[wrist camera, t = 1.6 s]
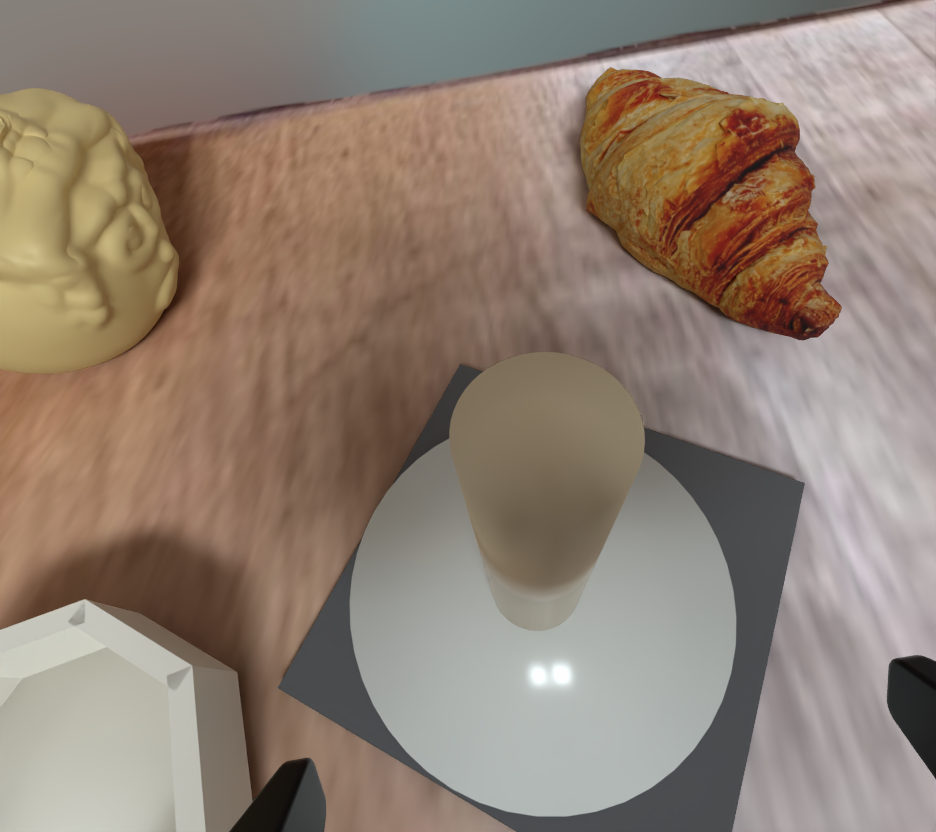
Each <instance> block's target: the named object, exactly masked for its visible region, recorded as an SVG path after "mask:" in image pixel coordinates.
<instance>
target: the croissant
mask: <svg viewBox="0 0 936 832" xmlns="http://www.w3.org/2000/svg"><path fill="white" fill-rule="evenodd" d="M799 139H800V129H799V125H798V120H797V119H796V118H795V116H794V115H793V114H792V113H791V112H790V111H789V110H788V108H787V107H786V106H785V105H784V104H783V103H774V102H770V101H767V100H765V99H764V98H759V99H757V98H753V97H749V96H743V95H733V94H729V93H728V92H724V91H720V90H718V89H716V88H713V87H711V86H709V85H706V84H702V83H699V82H695V81H692V80H688V79H682V78H661V77H659V76H657V75H656V74H654V73H651V72H649V71H642V70H625V69H622V70H619V71H618V70H616V69H614V68H611V67H610V68H609V69H607V70H606V71H605V72H604V73H603V74H602V75H601V76H600V77H599V78H598V79H597V80H596V82H595V83H594V85H593V86H592V87H591V89H590V90H589V92H588V94H587V96H586V115H585V120H584V125H583V128H582V132H581V136H580V149H581V155H580V157H581V163H582V168H583V172H584V174H585V177H586V180H587V185H588V189H589V193H588V196H587V202H586V207H587V211H588V212H590V213H591V214H593V215H595V216H597V217H598V218H599V219H600V220H601V221H603V222H604V223H606V224H607V225H609V226H610V227H611V228H613V229H614V230H615V231H616V233H617V235H618V238H619V240H620V242H621V244H622V246H623V247H624V248H625V249H626V250H627V251H628V252H629V253H630V254H631V255H632V256H633V257H634V258H636V259H637V260H638V261H639V262H640V263H641V264H643V265H644V266H646V267H648V268H649V269H651V270H652V271H654V272H655V273H658V274H661V275H663V276H665V277H667V278H669V279H671V280H672V281H674V282H675V283H676V284H678V285H679V286H680V287H682V288H684V289H686V290H689V291H691V292H693V293H695V294H696V295H698V296H699V297H700V298H702V299H703V300H705V301H706V302H708V303H709V304H711V305H713V306H715V307H718V308H720V310H721V311H722V312H723V313H724V314H725V315H726V316H728V317H730V318H731V319H733V320H735V321H737V322H739V323H742V324H744V325H747V326H750V327H753V328H757V329H761V330H764V331H768V332H772V333H776V334H780V335H784V336H789V337H792V338H795V339H798V340H806V339H809V338H813V337H819V336H820V335H821V334H822V333H823V332H824V331H825V330H827V329H828V328H829V326H830V325H831V324H833V323H834V321H835V319H836V318H838V317H839V313H840V311H841V308H842V307H841V305H840V304H839V303H838V302H837V301H836V300H835V299H834V298H833V297H832V296H830V295H829V294H828V293H827V291H826V290H825V289H824V288H823V286H822V285H821V284H820V282H821V281H822V279H823V276H824V273H825V270H826V267H827V265H828V264H829V263H828V260H827V258H826V256H825V253H826V249H827V246H822V242H821V241H820V239H819V237H818V234H817V231H816V228H817V225H818V224H817V222H816V221H815V220H814V219H813V218H812V216H811V215H810V213H809V211H808V209H809V207H810V203H811V191H812V190H813V189H814V188H815V187H816V186H815V183H814V181H815V180H814V177H815V176H813V175H812V174H811V173H810V171H809V169H808V168H807V167H806V166H805V164H804V163H803V161H802V160H801V159H800V158H798V156H797V155H796V153H795V149H796V146H797V144H798V142H799Z"/></svg>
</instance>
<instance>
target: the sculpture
mask: <svg viewBox="0 0 936 832" xmlns="http://www.w3.org/2000/svg"><path fill="white" fill-rule="evenodd" d="M178 268H179V255H178V253H177V251H176V250H175V249H174V247H173V246H172V244H171V243H170V240H169V238H168V235H167V232H166V230H165V227H164V224H163V221H162V218H161V211H160V206H159V203H158V200H157V197H156V195H155V193H154V191H153V189H152V187H151V185H150V183H149V181H148V175H147V173H146V171H145V170H144V163H143V161H142V159H141V157H140V156H139V155H138V154H137V153H135V151H134V149H133V147H132V145H131V144H130V142H129V139H128V137H127V135H126V134H125V132H124V130H123V128H122V127H121V125H120V124H119V123H118V122H117V120H116V119H115V118H114V117H113V116H112V115H111V114H109V113H108V112H106V111H105V110H103V109H101V108H98V107H96V106H93V105H88V104H83V103H80V102H79V101H77V100H75V99H73V98H71V97H69V96H67V95H64V94H61V93H58V92H55V91H51V90H46V89H41V88H30V89H24V90H19V91H16V92H12V93H10V94H0V369H3V370H8V371H14V372H22V373H33V374H53V373H63V372H70V371H75V370H80V369H84V368H88V367H91V366H94V365H97V364H100V363H103V362H105V361H108V360H110V359H112V358H114V357H116V356H118V355H120V354H122V353H124V352H125V351H127V350H129V349H130V348H132V347H133V346H134V345H136V344H137V343H138V342H139V341H140V340H142V339H143V338H144V337H145V336H146V335H147V334H148V333H149V331H150V330H151V329H152V328H153V327H154V325H155V324H156V323H157V321H158V320H159V318H160V316H161V315H162V313H163V311H164V309H166V308H167V307H168V306H169V305H170V303H171V301H172V299H173V297H174V295H175V292H176V289H177V281H178Z"/></svg>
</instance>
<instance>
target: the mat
mask: <svg viewBox="0 0 936 832" xmlns="http://www.w3.org/2000/svg"><path fill="white" fill-rule="evenodd" d="M481 373H482V372H481V371H479V370H476V369H473V368H470V367H467V366H464V365H461V364H460V366H459V368H458V370H457V371H456V373H455V375H454V377H453V378H452V380H451V382H450V384H449V385H448V387H447V389H446V391H445V393H444V394H443V396H442V398H441V400H440V401H439V403H438V405H437V407H436V409H435V410H434V412H433V414H432V416H431V417H430V419H429V421H428V423H427V424H426V426H425V428H424V430H423V432H422V433H421V435H420V437H419V439H418V440H417V442H416V444H415V446H414V448H413V449H412V451H411V453H410V455H409V456H408V458H407V460H406V462H405V463H404V465H403V467H402V469H401V471H400V472H399V474H398V476H397V478H396V479H395V481H394V483H395V482H396V480H397V479H398V478H399V477H400V476H401V474H402V473H404V472H405V471H406V470H407V469H408V468H409V467H410V466H411V465H412V464H413V463H414V462H415V461H416V460H417V459H419V458H420V457H421V456H423V455H424V454H426V453H427V452H428V451H430V450H431V449H432V448H434V447H435V446H437V445H439V444H440V443H442V442H444V441H446V440H447V439H449V430H450V423H451V418H452V415H453V411H454V408H455V406H456V404H457V402H458V400H459V398H460V397H461V395H462V393H463V392H464V390H465V389H466V388H467V387H468V385H469V384H470V383H471V382H472V381H473V380H474V379H475V378H476V377H477V376H478V375H479V374H481ZM644 434H645V446H644V453H646V454H647V455H649V456H650V457H651V458H653V459H654V460H656V461H657V462H658V463H659V464H660V465H662V466H663V467H664V468H665V469H666V470H667V471H668V472H669V473H670V474H672V475H673V476H674V477H675V478H676V479H677V480H678V482H679V483H680V484H681V485H682V486H683V487H684V488H685V490H686V491H687V492H688V493H689V494H690V495H691V496H692V498H693V499H694V501H695V502H696V504H697V505H698V506H699V508H700V509H701V511H702V512H703V514H704V515H705V517H706V518H707V520H708V522H709V524H710V526H711V528H712V530H713V532H714V534H715V535H716V537H717V539H718V542H719V544H720V547H721V550H722V552H723V555H724V557H725V560H726V563H727V566H728V570H729V574H730V578H731V582H732V587H733V591H734V600H735V609H736V647H735V653H734V659H733V665H732V672H731V675H730V678H729V682H728V685H727V688H726V691H725V695H724V698H723V700H722V703H721V705H720V707H719V709H718V711H717V713H716V715H715V717H714V719H713V721H712V723H711V725H710V727H709V728H708V730H707V731H706V733H705V734H704V736H703V737H702V739H701V740H700V741H699V743H698V744H697V746H696V747H695V749H694V750H693V751H692V752H691V753H690V754H689V755H688V756H687V757H686V758H685V759H684V760H683V762H682V763H681V764H680V765H679V766H678V767H677V768H676V769H675V770H674V771H673V772H671V773H670V774H669V775H667V776H666V777H665V778H663V779H662V780H661V781H660V782H658V783H657V784H656V785H654V786H653V787H652V788H650V789H648V790H647V791H645V792H643V793H641V794H639V795H637V796H635V797H633V798H631V799H630V800H628V801H626V802H624V803H621V804H618V805H615V806H612V807H609V808H606V809H603V810H600V811H597V812H591V813H585V814H579V815H573V816H531V815H525V814H519V813H513V812H507V811H504V810H501V809H498V808H494V807H491V806H488V805H485V804H482V803H479V802H477V801H475V800H473V799H471V798H469V797H467V796H465V795H463V794H461V793H459V792H457V791H455V790H453V789H451V788H450V787H448V786H447V785H446V784H444V783H443V782H441V781H440V780H438V779H437V778H436V777H434V776H433V775H431V774H430V773H428V772H427V771H426V770H425V769H424V768H423V767H422V766H421V765H420V764H419V763H418V762H416V761H415V760H414V759H413V758H412V757H411V756H410V755H409V754H408V753H407V752H406V751H405V750H404V749H403V747H402V746H401V745H400V744H399V742H398V741H397V740H396V739H395V737H394V736H393V735H392V734H391V732H390V731H389V730H388V728H387V727H386V725H385V724H384V722H383V720H382V719H381V717H380V715H379V714H378V712H377V710H376V709H375V707H374V705H373V703H372V701H371V699H370V696H369V694H368V692H367V690H366V687H365V685H364V683H363V680H362V677H361V674H360V671H359V667H358V664H357V660H356V657H355V653H354V647H353V641H352V634H351V628H350V592H351V581H352V574H353V569H354V565H355V560H356V556H357V552H358V549H359V546H360V543H361V541H360V543H359V545H358V547H357V549H356V550H355V552H354V554H353V556H352V557H351V559H350V561H349V563H348V564H347V566H346V568H345V570H344V572H343V573H342V575H341V577H340V579H339V580H338V582H337V584H336V586H335V587H334V589H333V591H332V593H331V595H330V596H329V598H328V600H327V602H326V603H325V605H324V607H323V609H322V611H321V612H320V614H319V616H318V618H317V619H316V621H315V623H314V625H313V626H312V628H311V630H310V632H309V634H308V635H307V637H306V639H305V641H304V642H303V644H302V646H301V648H300V650H299V651H298V653H297V655H296V657H295V658H294V660H293V662H292V664H291V665H290V667H289V669H288V671H287V673H286V674H285V676H284V678H283V680H282V681H281V683H280V685H279V687H278V688H279V689H280V690H282V691H284V692H285V693H287V694H289V695H290V696H292V697H294V698H295V699H297V700H299V701H300V702H302V703H304V704H305V705H307V706H309V707H310V708H312V709H314V710H315V711H317V712H319V713H320V714H322V715H324V716H325V717H327V718H329V719H330V720H332V721H334V722H335V723H337V724H339V725H340V726H342V727H344V728H345V729H347V730H349V731H350V732H352V733H354V734H355V735H357V736H359V737H360V738H362V739H364V740H365V741H367V742H369V743H370V744H372V745H374V746H375V747H377V748H379V749H380V750H382V751H384V752H385V753H387V754H389V755H390V756H392V757H394V758H395V759H397V760H399V761H400V762H402V763H403V764H405V765H407V766H408V767H410V768H412V769H413V770H415V771H417V772H418V773H420V774H422V775H423V776H425V777H427V778H428V779H430V780H432V781H433V782H435V783H437V784H438V785H440V786H442V787H443V788H445V789H447V790H448V791H450V792H452V793H453V794H455V795H457V796H458V797H460V798H462V799H463V800H465V801H467V802H468V803H470V804H472V805H473V806H475V807H477V808H478V809H480V810H482V811H483V812H485V813H487V814H488V815H490V816H492V817H493V818H495V819H497V820H498V821H500V822H502V823H503V824H505V825H507V826H508V827H510V828H512V829H513V830H515V831H517V832H732V828H733V823H734V819H735V814H736V809H737V804H738V799H739V795H740V790H741V785H742V780H743V776H744V771H745V766H746V761H747V756H748V752H749V747H750V742H751V737H752V733H753V728H754V723H755V718H756V713H757V709H758V704H759V699H760V694H761V690H762V685H763V680H764V675H765V670H766V666H767V661H768V656H769V651H770V646H771V642H772V637H773V632H774V627H775V623H776V618H777V613H778V608H779V603H780V599H781V594H782V589H783V584H784V580H785V575H786V570H787V565H788V560H789V556H790V551H791V546H792V541H793V537H794V532H795V527H796V522H797V517H798V513H799V508H800V503H801V498H802V493H803V489H804V484H805V483H803V482H800V481H797V480H794V479H791V478H788V477H785V476H783V475H780V474H777V473H774V472H771V471H768V470H765V469H762V468H759V467H756V466H754V465H751V464H748V463H745V462H742V461H739V460H736V459H733V458H730V457H728V456H725V455H722V454H719V453H716V452H713V451H710V450H707V449H704V448H701V447H699V446H696V445H693V444H690V443H687V442H684V441H681V440H678V439H675V438H672V437H670V436H667V435H664V434H661V433H658V432H655V431H652V430H649V429H646V428H644ZM394 483H393V484H394Z"/></svg>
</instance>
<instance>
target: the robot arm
mask: <svg viewBox="0 0 936 832" xmlns="http://www.w3.org/2000/svg"><path fill="white" fill-rule="evenodd" d="M887 704H888V708H889V711H890V713H891V715H892V717H893V719H894V720H895V722H896V723H897V725H898V726H899V728H900V729H901V730H902V732H903V733H904V735H905V736H906V738H907V739H908V740H909V742H910V743H911V745H912V746H913V747H914V749H915V750H916V752H917V753H918V755H919V756H920V757H921V759H922V760H923V762H924V763H925V764H926V766H927V767H928V769H929V770H930V772H931V773H932V774H933V776H934V777H935V779H936V661H934V660H932V659H929V658H927V657H924V656H920V655H914V656H908V657H902V658H896V659H893V660H892V661H891V663H890V664H889V671H888V689H887ZM325 819H326V800H325V795H324V792H323V789H322V786H321V783H320V779H319V776H318V773H317V770H316V767H315V764H314V762H313V761H312V760H311V759H310V758H303V759H297V760H291V761H287V762H285V763H284V764H283V765H281V767H280V768H279V769H278V770H277V771H276V773H275V774H274V775H273V777H272V778H271V779H270V780H269V782H268V783H267V784H266V785H265V787H264V788H263V789H262V790H261V792H260V793H259V794H258V795H257V797H256V798H255V799H254V801H253V802H252V803H251V804H250V806H249V807H248V808H247V809H246V811H245V812H244V813H243V814H242V816H241V817H240V818H239V820H238V821H237V822H236V823H235V825H234V826H233V827H232V828H231V830H230V831H229V832H324V828H325Z"/></svg>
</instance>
